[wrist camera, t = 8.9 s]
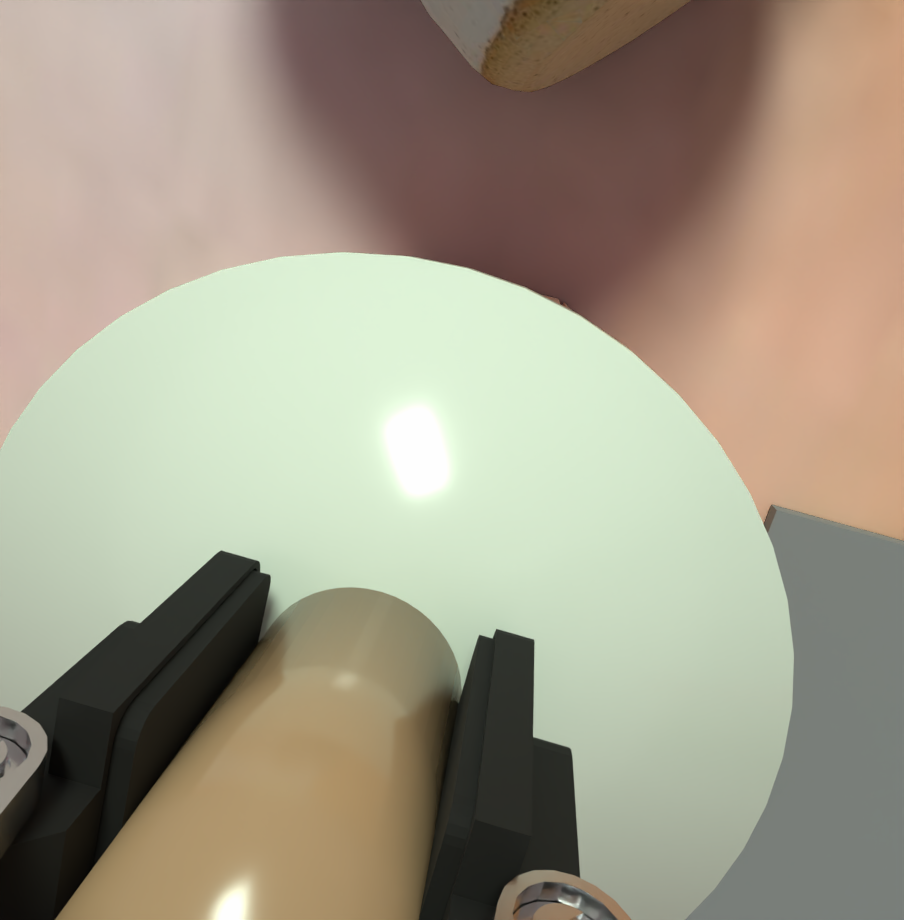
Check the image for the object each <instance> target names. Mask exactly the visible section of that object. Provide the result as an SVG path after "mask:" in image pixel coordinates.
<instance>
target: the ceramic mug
mask: <svg viewBox="0 0 904 920" xmlns="http://www.w3.org/2000/svg"><path fill="white" fill-rule="evenodd" d="M689 1H691V0H421V2H422V4H423V5H424V7H425V9H426V10H427V12H428V13H429V15H430V16H431V18H432V19H433V20H434V21H435V22H436V23H437V25H438V26H439V27H440V28H441V29H442V30H443V32H444V33H445V34H446V35H447V37H448V38H449V39H450V40H451V42H452V43H453V44H454V45H455V47H456V48H457V49H458V50H459V52H460V53H461V54H462V55H463V56H464V58H465V59H466V60H467V61H468V63H469V64H470V65H471V66H472V67H473V68H474V69H475V70H476V71H477V72H478V73H480V74H481V75H482V76H483V77H484V78H485V79H487V80H488V81H489V82H490V83H491V84H494V85H497V86H501V87H504V88H508V89H511V90H515V91H526V92H533V91H536V90H540V89H543V88H546V87H549V86H551V85H553V84H555V83H557V82H560V81H562V80H564V79H566V78H568V77H570V76H572V75H574V74H576V73H578V72H579V71H581V70H583V69H585V68H587V67H588V66H590V65H592V64H594V63H596V62H597V61H599V60H601V59H602V58H604V57H606V56H607V55H609V54H611V53H612V52H614V51H616V50H617V49H619V48H621V47H622V46H624V45H626V44H627V43H629V42H631V41H632V40H634V39H635V38H637V37H638V36H640V35H641V34H643V33H644V32H646V31H647V30H649V29H650V28H652V27H653V26H655V25H656V24H658V23H659V22H661V21H662V20H664V19H665V18H666V17H668V16H669V15H671V14H672V13H674V12H675V11H676V10H678V9H679V8H681V7H682V6H684V5H685V4H686V3H688V2H689Z"/></svg>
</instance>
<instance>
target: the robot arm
mask: <svg viewBox="0 0 904 920" xmlns="http://www.w3.org/2000/svg"><path fill="white" fill-rule="evenodd" d="M270 583H271V576H270V575H269V574H265V573H262V572H260V562H259V561H257V560H253V559H250V558H246V557H243V556H239V555H236V554H232V553H229V552H225V551H222V550H221V551H219V552H218V553H217V554H215V555H214V556H213V557H212V558H211V559H210V560H209V561H208V562H207V563H206V564H205V565H203V566H202V567H201V568H200V569H199V570H198V571H197V572H196V573H195V574H194V575H192V576H191V577H190V578H189V579H188V580H187V581H186V582H185V583H184V584H183V585H181V586H180V587H179V588H178V589H177V590H176V591H175V592H174V593H173V594H172V595H170V596H169V597H168V598H167V599H166V600H165V601H164V602H163V603H162V604H161V605H159V606H158V607H157V608H156V609H155V610H154V611H153V612H152V613H151V614H150V615H149V616H147V617H146V618H145V619H144V620H143V621H142V622H141V623H138V622H135V621H126V622H124V623H122V624H121V625H119V626H118V627H117V628H116V629H115V630H114V631H113V632H111V633H110V634H109V635H108V636H107V637H106V638H104V639H103V640H102V641H101V642H100V643H99V644H98V645H96V646H95V647H94V648H93V649H92V650H91V651H90V652H88V653H87V654H86V655H85V656H84V657H83V658H82V659H80V660H79V661H78V662H77V663H76V664H75V665H74V666H72V667H71V668H70V669H69V670H68V671H67V672H65V673H64V674H63V675H62V676H61V677H60V678H59V679H57V680H56V681H55V682H54V683H53V684H52V685H51V686H49V687H48V688H47V689H46V690H45V691H44V692H43V693H41V694H40V695H39V696H38V697H37V698H36V699H34V700H33V701H32V702H31V703H30V704H29V705H28V706H26V707H25V708H24V709H23V710H22V711H21V712H19V711H16V710H13V709H10V708H7V707H1V706H0V920H55V919H56V918H57V916H58V915H59V913H60V912H61V911H62V909H63V908H64V907H65V905H66V904H67V903H68V901H69V900H70V898H71V897H72V896H73V894H74V893H75V892H76V890H77V889H78V888H79V886H80V885H81V883H82V882H83V881H84V879H85V878H86V877H87V875H88V874H89V873H90V871H91V870H92V868H93V867H94V866H95V864H96V863H97V862H98V860H99V859H100V858H101V856H102V855H103V853H104V852H105V851H106V849H107V848H108V847H109V845H110V844H111V843H112V841H113V840H114V838H115V837H116V836H117V834H118V833H119V832H120V830H121V829H122V828H123V826H124V825H125V824H126V822H127V821H128V819H129V818H130V817H131V815H132V814H133V813H134V811H135V810H136V809H137V807H138V806H139V804H140V803H141V802H142V800H143V799H144V798H145V796H146V795H147V794H148V792H149V791H150V789H151V788H152V787H153V785H154V784H155V783H156V781H157V780H158V779H159V777H160V776H161V774H162V773H163V772H164V770H165V769H166V768H167V766H168V765H169V764H170V762H171V761H172V759H173V758H174V757H175V755H176V754H177V753H178V751H179V750H180V749H181V747H182V746H183V744H184V743H185V742H186V740H187V739H188V738H189V736H190V735H191V734H192V732H193V731H194V730H195V728H196V727H197V725H198V724H199V723H200V721H201V720H202V719H203V717H204V716H205V715H206V713H207V712H208V710H209V709H210V708H211V706H212V705H213V704H214V702H215V701H216V700H217V698H218V697H219V695H220V694H221V693H222V691H223V690H224V689H225V687H226V686H227V685H228V683H229V682H230V680H231V679H232V678H233V676H234V675H235V674H236V672H237V671H238V670H239V668H240V667H241V665H242V664H243V663H244V661H245V660H246V659H247V657H248V656H249V655H250V653H251V652H252V650H253V649H254V648H255V646H256V645H257V644H258V641H259V636H260V631H261V626H262V622H263V617H264V612H265V608H266V603H267V598H268V594H269V589H270ZM534 645H535V642H534V639H530V638H527V637H523V636H520V635H516V634H513V633H509V632H506V631H502V630H499V629H496V631H495V633H494V636H493V638H489V637H486V636H482V635H479V636H478V639H477V642H476V646H475V649H474V652H473V656H472V659H471V663H470V666H469V669H468V673H467V676H466V680H465V683H464V686H463V690H462V693H461V697H460V700H459V704H458V709H457V715H456V720H455V725H454V731H453V736H452V742H451V747H450V753H449V758H448V763H447V769H446V774H445V780H444V785H443V791H442V796H441V801H440V807H439V812H438V818H437V823H436V829H435V834H434V839H433V845H432V850H431V856H430V861H429V867H428V872H427V877H426V883H425V888H424V894H423V899H422V905H421V910H420V915H419V920H631V918H630V917H629V916H628V915H627V914H626V912H625V911H624V910H623V909H622V908H621V907H620V906H619V904H618V903H617V902H616V901H615V900H614V899H612V898H611V897H610V896H609V895H607V894H606V893H605V892H603V891H602V890H601V889H599V888H598V887H597V886H595V885H593V884H591V883H589V882H587V881H585V880H583V879H581V878H580V866H579V851H578V835H577V820H576V804H575V789H574V773H573V758H572V751H571V749H570V748H569V747H566V746H563V745H559V744H556V743H552V742H549V741H545V740H542V739H538V738H535V737H533V710H534Z"/></svg>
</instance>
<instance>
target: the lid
mask: <svg viewBox="0 0 904 920" xmlns="http://www.w3.org/2000/svg"><path fill="white" fill-rule="evenodd" d="M221 550H222V551H225V552H229V553H232V554H236V555H239V556H243V557H246V558H250V559H253V560H257V561H259V562H260V572H262V573H265V574H269V575H270V576H271V583H270V589H269V594H268V598H267V603H266V608H265V612H264V617H263V622H262V626H261V631H260V636H259V641H258V644H257V645H256V646H255V648H254V649H253V650H252V652H251V653H250V655H249V656H248V657H247V659H246V660H245V661H244V663H243V664H242V665H241V667H240V668H239V670H238V671H237V672H236V674H235V675H234V676H233V678H232V679H231V680H230V682H229V683H228V685H227V686H226V687H225V689H224V690H223V691H222V693H221V694H220V695H219V697H218V698H217V700H216V701H215V702H214V704H213V705H212V706H211V708H210V709H209V710H208V712H207V713H206V715H205V716H204V717H203V719H202V720H201V721H200V723H199V724H198V725H197V727H196V728H195V730H194V731H193V732H192V734H191V735H190V736H189V738H188V739H187V740H186V742H185V743H184V744H183V746H182V747H181V749H180V750H179V751H178V753H177V754H176V755H175V757H174V758H173V759H172V761H171V762H170V764H169V765H168V766H167V768H166V769H165V770H164V772H163V773H162V774H161V776H160V777H159V779H158V780H157V781H156V783H155V784H154V785H153V787H152V788H151V789H150V791H149V792H148V794H147V795H146V796H145V798H144V799H143V800H142V802H141V803H140V804H139V806H138V807H137V809H136V810H135V811H134V813H133V814H132V815H131V817H130V818H129V819H128V821H127V822H126V824H125V825H124V826H123V828H122V829H121V830H120V832H119V833H118V834H117V836H116V837H115V838H114V840H113V841H112V843H111V844H110V845H109V847H108V848H107V849H106V851H105V852H104V853H103V855H102V856H101V858H100V859H99V860H98V862H97V863H96V864H95V866H94V867H93V868H92V870H91V871H90V873H89V874H88V875H87V877H86V878H85V879H84V881H83V882H82V883H81V885H80V886H79V888H78V889H77V890H76V892H75V893H74V894H73V896H72V897H71V898H70V900H69V901H68V903H67V904H66V905H65V907H64V908H63V909H62V911H61V912H60V913H59V915H58V916H57V918H56V919H55V920H419V915H420V910H421V905H422V899H423V894H424V888H425V883H426V877H427V872H428V867H429V861H430V856H431V850H432V845H433V839H434V834H435V829H436V823H437V818H438V812H439V807H440V801H441V796H442V791H443V785H444V780H445V774H446V769H447V763H448V758H449V753H450V747H451V742H452V736H453V731H454V725H455V720H456V715H457V709H458V704H459V700H460V697H461V693H462V690H463V686H464V683H465V680H466V676H467V673H468V669H469V666H470V663H471V659H472V656H473V652H474V649H475V646H476V642H477V639H478V636H479V635H482V636H486V637H489V638H493V636H494V633H495V631H496V629H499V630H502V631H506V632H509V633H513V634H516V635H520V636H523V637H527V638H530V639H534V642H535V645H534V710H533V737H535V738H538V739H542V740H545V741H549V742H552V743H556V744H559V745H563V746H566V747H569V748H570V749H571V751H572V758H573V773H574V789H575V804H576V820H577V835H578V851H579V866H580V878H581V879H583V880H585V881H587V882H589V883H591V884H593V885H595V886H597V887H598V888H599V889H601V890H602V891H603V892H605V893H606V894H607V895H609V896H610V897H611V898H612V899H614V900H615V901H616V902H617V903H618V904H619V906H620V907H621V908H622V909H623V910H624V911H625V912H626V914H627V915H628V916H629V917H630V918H631V920H685V919H686V918H687V917H688V916H689V915H690V914H691V913H692V912H693V911H694V910H695V909H696V908H697V907H698V906H699V905H700V904H701V903H702V902H703V901H704V899H705V898H706V897H707V896H708V895H709V894H710V893H711V892H712V891H713V890H714V889H715V888H716V886H717V885H718V884H719V882H720V881H721V880H722V878H723V877H724V875H725V874H726V873H727V871H728V870H729V868H730V867H731V866H732V864H733V863H734V862H735V860H736V859H737V857H738V856H739V855H740V853H741V852H742V850H743V849H744V847H745V845H746V843H747V841H748V840H749V838H750V836H751V834H752V832H753V830H754V828H755V826H756V824H757V822H758V820H759V818H760V817H761V815H762V813H763V811H764V809H765V807H766V805H767V802H768V799H769V796H770V793H771V790H772V788H773V785H774V782H775V779H776V776H777V773H778V770H779V767H780V764H781V762H782V759H783V754H784V749H785V743H786V738H787V733H788V727H789V722H790V716H791V711H792V700H793V669H794V650H793V641H792V633H791V625H790V616H789V608H788V600H787V596H786V592H785V589H784V585H783V581H782V578H781V574H780V570H779V567H778V563H777V559H776V556H775V552H774V548H773V545H772V543H771V540H770V538H769V536H768V534H767V531H766V529H765V527H764V524H763V522H762V520H761V518H760V515H759V513H758V511H757V508H756V506H755V504H754V501H753V499H752V497H751V495H750V492H749V491H748V489H747V488H746V486H745V484H744V483H743V481H742V480H741V478H740V476H739V475H738V473H737V471H736V470H735V468H734V467H733V465H732V463H731V462H730V460H729V459H728V457H727V455H726V454H725V452H724V451H723V449H722V447H721V446H720V444H719V442H718V441H717V440H716V439H715V438H714V436H713V435H712V434H711V433H710V432H709V430H708V429H707V428H706V427H705V426H704V424H703V423H702V422H701V421H700V420H699V418H698V417H697V416H696V415H695V414H694V412H693V411H692V410H691V409H690V408H689V406H688V405H687V404H686V403H685V402H684V400H683V399H682V398H681V397H680V396H679V395H678V394H677V393H676V392H675V391H674V390H673V389H672V388H671V387H670V386H669V385H668V384H667V383H666V382H665V381H664V380H663V379H662V378H660V377H659V376H658V375H657V374H656V373H655V372H654V371H653V370H652V369H651V368H649V367H648V366H647V365H646V364H645V363H644V362H643V361H642V360H641V359H640V358H638V357H637V356H636V355H635V354H634V353H633V352H632V351H631V350H630V349H629V348H627V347H626V346H625V345H623V344H622V343H620V342H619V341H617V340H616V339H615V338H613V337H612V336H610V335H609V334H607V333H606V332H604V331H603V330H601V329H600V328H599V327H597V326H596V325H594V324H593V323H591V322H590V321H588V320H587V319H585V318H584V317H583V316H581V315H580V314H578V313H576V312H574V311H572V310H570V309H568V308H566V307H564V306H562V305H560V304H558V303H556V302H554V301H552V300H550V299H548V298H546V297H544V296H542V295H540V294H539V293H537V292H535V291H533V290H531V289H529V288H527V287H524V286H521V285H518V284H515V283H512V282H510V281H507V280H504V279H501V278H498V277H495V276H492V275H489V274H487V273H484V272H481V271H478V270H475V269H472V268H468V267H463V266H458V265H453V264H448V263H443V262H439V261H434V260H429V259H424V258H419V257H414V256H399V255H383V254H367V253H348V252H339V253H325V254H312V255H299V256H286V257H278V258H273V259H269V260H264V261H260V262H255V263H250V264H246V265H241V266H237V267H232V268H228V269H223V270H220V271H218V272H215V273H212V274H210V275H207V276H204V277H202V278H199V279H196V280H194V281H191V282H188V283H186V284H183V285H180V286H178V287H175V288H172V289H170V290H168V291H166V292H164V293H162V294H160V295H159V296H157V297H155V298H153V299H151V300H150V301H148V302H146V303H144V304H142V305H140V306H139V307H137V308H135V309H133V310H131V311H130V312H128V313H126V314H124V315H122V316H121V317H119V318H118V319H116V320H115V321H114V322H113V323H111V324H110V325H109V326H107V327H106V328H105V329H103V330H102V331H101V332H99V333H98V334H97V335H96V336H94V337H93V338H92V339H90V340H89V341H88V342H86V343H85V344H84V345H82V346H81V347H80V348H79V349H77V350H76V351H75V352H74V353H73V354H72V355H71V356H70V357H69V358H68V360H67V361H66V362H65V363H64V364H63V365H62V366H61V367H60V368H59V369H58V370H57V371H56V372H55V373H54V374H53V375H52V376H51V377H50V378H49V379H48V380H47V381H46V382H45V383H44V384H43V385H42V386H41V388H40V389H39V390H38V392H37V393H36V394H35V396H34V397H33V399H32V400H31V402H30V403H29V404H28V406H27V407H26V409H25V410H24V411H23V413H22V414H21V416H20V417H19V418H18V420H17V421H16V423H15V424H14V425H13V427H12V428H11V430H10V432H9V434H8V436H7V438H6V440H5V442H4V444H3V446H2V448H1V450H0V706H1V707H7V708H10V709H13V710H16V711H19V712H21V711H22V710H23V709H24V708H25V707H26V706H28V705H29V704H30V703H31V702H32V701H33V700H34V699H36V698H37V697H38V696H39V695H40V694H41V693H43V692H44V691H45V690H46V689H47V688H48V687H49V686H51V685H52V684H53V683H54V682H55V681H56V680H57V679H59V678H60V677H61V676H62V675H63V674H64V673H65V672H67V671H68V670H69V669H70V668H71V667H72V666H74V665H75V664H76V663H77V662H78V661H79V660H80V659H82V658H83V657H84V656H85V655H86V654H87V653H88V652H90V651H91V650H92V649H93V648H94V647H95V646H96V645H98V644H99V643H100V642H101V641H102V640H103V639H104V638H106V637H107V636H108V635H109V634H110V633H111V632H113V631H114V630H115V629H116V628H117V627H118V626H119V625H121V624H122V623H124V622H126V621H135V622H138V623H141V622H142V621H143V620H144V619H145V618H146V617H147V616H149V615H150V614H151V613H152V612H153V611H154V610H155V609H156V608H157V607H158V606H159V605H161V604H162V603H163V602H164V601H165V600H166V599H167V598H168V597H169V596H170V595H172V594H173V593H174V592H175V591H176V590H177V589H178V588H179V587H180V586H181V585H183V584H184V583H185V582H186V581H187V580H188V579H189V578H190V577H191V576H192V575H194V574H195V573H196V572H197V571H198V570H199V569H200V568H201V567H202V566H203V565H205V564H206V563H207V562H208V561H209V560H210V559H211V558H212V557H213V556H214V555H215V554H217V553H218V552H219V551H221Z"/></svg>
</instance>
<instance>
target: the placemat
mask: <svg viewBox="0 0 904 920" xmlns="http://www.w3.org/2000/svg"><path fill="white" fill-rule="evenodd" d="M764 527H765V529H766V531H767V534H768V536H769V538H770V540H771V543H772V545H773V548H774V552H775V556H776V559H777V563H778V567H779V570H780V574H781V578H782V581H783V585H784V589H785V592H786V596H787V600H788V608H789V616H790V625H791V633H792V641H793V650H794V669H793V700H792V711H791V716H790V722H789V727H788V733H787V738H786V743H785V749H784V754H783V759H782V762H781V764H780V767H779V770H778V773H777V776H776V779H775V782H774V785H773V788H772V790H771V793H770V796H769V799H768V802H767V805H766V807H765V809H764V811H763V813H762V815H761V817H760V818H759V820H758V822H757V824H756V826H755V828H754V830H753V832H752V834H751V836H750V838H749V840H748V841H747V843H746V845H745V847H744V849H743V850H742V852H741V853H740V855H739V856H738V857H737V859H736V860H735V862H734V863H733V864H732V866H731V867H730V868H729V870H728V871H727V873H726V874H725V875H724V877H723V878H722V880H721V881H720V882H719V884H718V885H717V886H716V888H715V889H714V890H713V891H712V892H711V893H710V894H709V895H708V896H707V897H706V898H705V899H704V901H703V902H702V903H701V904H700V905H699V906H698V907H697V908H696V909H695V910H694V911H693V912H692V913H691V914H690V915H689V916H688V917H687V918H686V919H685V920H904V541H902V540H898V539H895V538H891V537H887V536H884V535H880V534H877V533H873V532H869V531H866V530H862V529H858V528H855V527H851V526H848V525H844V524H840V523H837V522H833V521H829V520H826V519H822V518H819V517H815V516H811V515H808V514H804V513H800V512H797V511H793V510H790V509H786V508H782V507H779V506H775V505H771V507H770V510H769V513H768V515H767V518H766V520H765V523H764Z"/></svg>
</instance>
